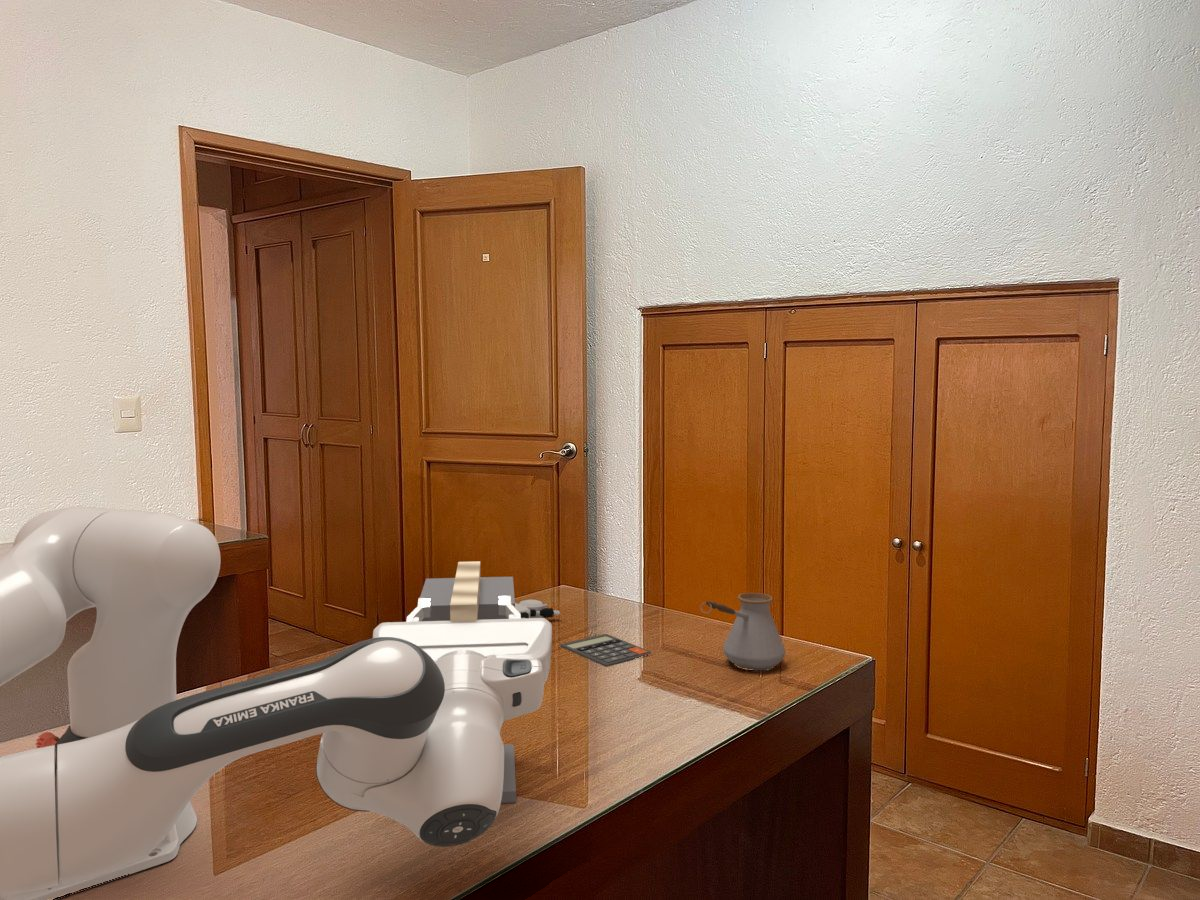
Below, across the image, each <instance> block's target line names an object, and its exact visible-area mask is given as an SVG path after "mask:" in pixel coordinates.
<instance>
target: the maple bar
mask: <svg viewBox="0 0 1200 900" xmlns="http://www.w3.org/2000/svg"><path fill="white" fill-rule="evenodd" d="M480 577H481V560H480V561H478V560H477V561H458V562H457V567H456V573H455V577H454V578H455V582H454V587H453V593H452V598H451V603H450V621H477V618H478V605H479V592H480Z"/></svg>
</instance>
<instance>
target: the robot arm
mask: <svg viewBox="0 0 1200 900" xmlns="http://www.w3.org/2000/svg"><path fill="white" fill-rule="evenodd" d="M221 559H222V558H221V551H220V547H219V543H218V540H217V538H216V537H215V535H214V533H212V531H210V529H209V528H207V527H206V526H204V525H202V524H200V523H197V522H194V521H193V520H191V519H187V518H184V517H181V516H178V515H176V514H172V513H166V512H158V511H157V512H155V511H143V510H135V509H134V510H133V509H132V510H131V509H117V508H106V507H105V508H103V507H94V506H93V507H92V506H91V507H90V506H83V505H82V506H81V505H80V506H72V507H66V508H64V507H63V508H59V509H54V510H49V511H45V512H42V513H39V514H37V515H34V516H33V517H31V518H30V519H29V520H27V521H26V522H25V523H24V524H23V525H22V526H21V528H20V529H19V531H18V532H17V533H16V536H15V538H14V540H13V544H12V548H11V549H9V550H8V551H7V552H5V553H4V554H3V555H2V556H0V687H1V686H3V685H5V684H7V683H8V682H9V681H12V679H13V680H14V679H15V678H16V677H17V676H20V675H21V674H22V673H24V672H26V671H28V670H29V669H31V668H33V667H34V666H35V665H37V664H38V663H40V662H42V661H43V660H45V659H46V658H48V657H50V656H51V655H53V654H54V653H55V652H56V651H57V650H58V649H59V648H60V646H61V645H62V643H63V641H64V638H65V635H66V628H67V622H68V621H69V620H70V619H71V618H73V617H74V616H75V615H77V614H78V613H80V612H82V611H84V610H89V609H91V608H96V619H95V624H94V629H93V633H92V635H91V638H90V640H89V641H88V642H86V643H84V644H83V645H81V647H80V648H77V650H76V651H75V652H74V653H73V655H72V656H71V657H70V659H69V661H68V665H67V669H66V673H67V689H68V707H69V709H68V710H69V722H70V724H69V725H68V727H67V728H66V730H65V732H64V733H63V734H62V735H61V737H59V736H57V735H55V734H54V733H52V732H50V731H45V732H42V733H40V735H39V736H38V738H36V739H35V742H36V743H35V746H36V748H32V749H28V750H24V751H23V750H22V751H20V752H15V753H11V754H6V755H3V756H0V900H47V899H52V898H56V897H58V896H61V895H63V894H66V893H70V892H72V891H76V890H79V889H82V888H86V887H88V886H92V885H96V884H99V883H102V884H104V883H103V882H105V881H108V882H110V881H109V880H111V881H113V880H112V879H114V878H117V877H120V878H122V877H121V876H123V877H125V876H124V875H126V876H129V875H132V874H135V873H137V872H138V873H139V872H141V871H144V870H147V869H150V868H153V867H156V866H159V865H161V864H165V863H167V862H170V861H171V860H173V859H175V858H176V856H178V853H179V850H180V846H181V844H182V843H183V842H184V841H185V840H186V839H187V838H188V837H189V836H190V834H191V833H193V831H194V830H195V829H196V825H197V822H198V817H197V816H198V815H197V814H196V812H195V809H194V807H193V805H192V802H191V800H192V799H193V798H194V796H195V795H196V794H197V793H198V791H200V789H201V788H202V787H203V786H204V785H205V784H206V783H207V781H209V780H210V779H211V778H212V777H213V776H214V775H215V774H217V772H219V771H220V770H222V769H224V768H225V767H227V766H228V765H229V764H231V763H233V762H235V761H237V760H239V759H241V758H243V757H246V756H249V755H252V754H255V753H256V754H257V753H259V752H262V751H266V750H269V749H274V748H276V747H279V746H283V745H287V744H290V743H293V742H297V741H300V740H304V739H307V738H310V737H311V738H312V737H313V736H317V735H321V734H322V735H321V737H320V743H319V747H318V752H317V753H318V754H317V759H316V763H315V776H316V779H317V780H316V781H317V782H318V785H319V787H320V790H322V792H323V793H324V794H325V796H326V797H327V798H329V800H330V801H332V802H333V803H334V804H337V805H338V806H340V807H342V808H343V809H347V810H350V811H356V812H362V813H363V812H365V813H367V812H368V813H369V812H371V813H375V814H377V815H381V816H383V817H386V818H389V819H391V820H393V821H396V822H398V823H400V824H401V825H403V826H404V827H406V828H408V829H409V830H410V831H411V832H412V833H413V834H414V836H416V838H418V839H419V840H420V841H421V842H423V843H425V844H426V845H430V846H433V847H440V848H441V847H443V848H444V847H446V848H447V847H456V846H460V845H464V844H467V843H469V842H471V841H473V840H476V839H477V838H478V837H480V836H482V835H483V834H484V833H486V831H487V830H488V829H490V827H491V826H492V824H493V823H494V822H495V820H496V818H497V816H498V814H499V812H500V808H501V804H502V803H501V799H502V792H503V780H504V745H505V744H504V742H503V739H502V737H501V729H502V726H503V723H504V722H507V721H510V720H512V719H514V718H518V717H520V716H524V715H527V714H530V713H533V712H536V711H538V710H539V709H540V708H541V706H542V702H543V698H544V689H545V684H546V682H547V680H548V678H549V673H550V670H551V669H550V666H551V658H552V649H553V647H552V644H553V641H552V639H553V625H552V622H551V621H549V620H548V619H547V618H546V617H542V618H521V614H520V613H519V612H518V611H517V609H516V608H515V607H514V606H513V605H511V595H509V596H499V615H506V617H507V618H508V619H486V620H477V621H422V620H423V618H427V617H431V598H420V597H418V598H417V599H418V600H417V605H418V607H417V606H416V607H415V608H414V609H413V610H412V611H411V612H410V613H409V614H408V615H407V616H406V621H392V622H390V621H387V622H381V623H379V624H378V625H377V626H376V627H375V628H374V629H373V631H372V638H368V639H364V640H361V641H359V642H355V643H354V644H352V645H349V646H347V647H345V648H344V649H341V650H340V651H338V652H337V653H334V654H332V655H330V656H328V657H324V658H323V659H320V660H317V661H313V662H311V663H308V664H303V665H301V666H299V665H298V666H296V667H293V668H288V669H283V670H281V671H277V672H273V673H268V674H264V675H261V676H257V677H254V678H250V679H245V680H242V681H239V682H235V683H231V684H228V685H223V686H220V687H216V688H212V689H208V690H204V691H202V692H198V693H194V694H191V695H188V696H185V697H182V698H177V648H178V644H179V638H180V635H181V632H182V628H183V626H184V623H185V621H186V619H187V617H188V615H189V613H190V612H191V611H192V610H193V608H194V607H195V606H196V605H197V604H198V603H200V602H201V601H202V600H203V599H204V598H206V596H207V595H208V594H209V593H210V592H211V590H212V589H213V587H214V586H215V584H216V582H217V579H218V577H219V574H220V570H221ZM128 874H129V875H128ZM117 879H118V878H117ZM114 880H115V879H114ZM105 883H106V882H105ZM99 885H100V884H99ZM96 886H97V885H96Z"/></svg>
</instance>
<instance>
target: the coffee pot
mask: <svg viewBox="0 0 1200 900" xmlns="http://www.w3.org/2000/svg"><path fill="white" fill-rule="evenodd" d="M737 599H738V601H739V603H740V609H739V610H735V609H733V608H731V607H728V606H727V605H725V604H720V603H717V602H716V601H711V600H710V601H706V602H703V603H701V605H700V610H701V612H703V613H704V614H708V613H711V612H712V610H717V611H719V612H721V613H726V614H729V615H734V616H736V618H735V620H734V622H733V624H732V626H731V629H730V631H729V633H728V635H727V637H726V639H725V642H724V643H723V646H722V651H723V653H724V655H725V657H726V658H727V660H729V661H730V662H731V663H732V664H733V663H734V664H735V665H737V666H739V667H742V668H747V669H753V670H767V669H770V670H772V669H771V668H772V667H774V666H777V665H779V664H780V663H781V662H782V661H783V660H784V657H785V655H786V649H785V646H784V643H783V640H782V638H781V635H780V633H779V631H778V628H777V626H776V623H775V620H774V618H773V616H772V613H771V610H770V606H771V603H772V602H773V601H774V600H773V599H774V598H773V596H771V595H769V594H767V593H760V592H744V593H739V594H738V596H737ZM705 604H706V606H708V607H710V609H709V611H704V610H703V609H702V606H703V605H705ZM774 668H775V667H774ZM767 671H768V670H767Z"/></svg>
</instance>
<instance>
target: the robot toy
mask: <svg viewBox="0 0 1200 900" xmlns="http://www.w3.org/2000/svg"><path fill="white" fill-rule="evenodd" d="M515 608H516V609H517V611H518V612H519V613H520V614H521V618H554V615H555V616H560V615H561V612H560V610H557V609H554V608H553V607H548V604H547V603H543V601H540V600H537V599H525V600H521V601H519V603H517V602H515Z"/></svg>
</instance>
